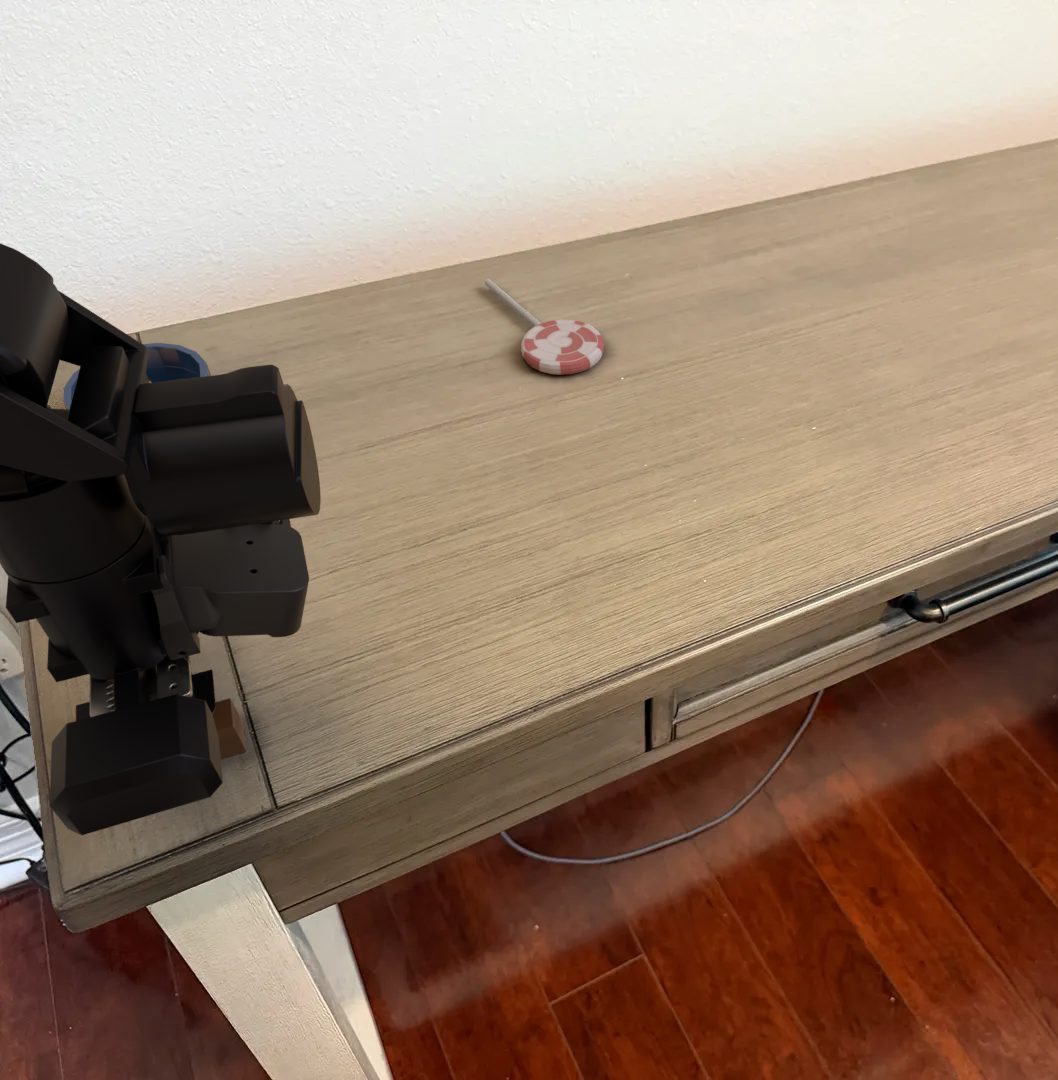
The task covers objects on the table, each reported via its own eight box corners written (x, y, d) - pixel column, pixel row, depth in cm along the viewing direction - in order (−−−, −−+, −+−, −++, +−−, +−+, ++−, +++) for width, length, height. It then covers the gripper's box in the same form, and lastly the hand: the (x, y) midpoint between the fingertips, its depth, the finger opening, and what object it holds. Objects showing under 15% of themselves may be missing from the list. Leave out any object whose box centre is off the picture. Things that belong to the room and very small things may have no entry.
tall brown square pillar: (246, 751, 56) (233, 726, 55) (146, 780, 55) (130, 755, 53) (243, 723, 58) (230, 697, 56) (145, 750, 56) (129, 725, 54)
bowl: (85, 480, 71) (61, 435, 68) (86, 401, 77) (64, 356, 74) (228, 451, 74) (211, 406, 71) (218, 376, 79) (202, 332, 77)
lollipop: (520, 265, 90) (620, 346, 82) (521, 275, 91) (620, 357, 83) (452, 288, 87) (549, 375, 79) (454, 299, 88) (550, 386, 80)
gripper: (295, 642, 41) (373, 839, 52) (251, 374, 53) (321, 581, 64) (-25, 726, 38) (130, 918, 49) (4, 421, 50) (124, 630, 61)
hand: (189, 740), depth 56 cm, fingers closed on tall brown square pillar, 2 cm apart
